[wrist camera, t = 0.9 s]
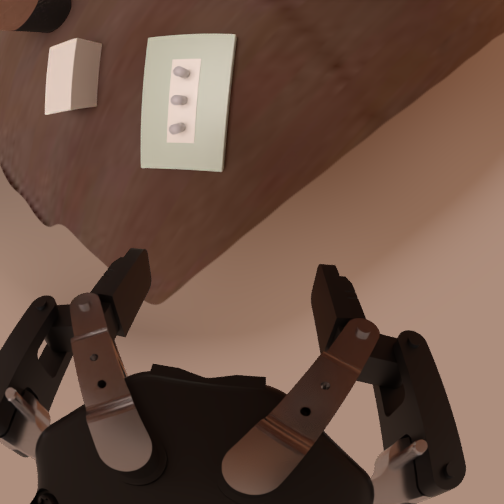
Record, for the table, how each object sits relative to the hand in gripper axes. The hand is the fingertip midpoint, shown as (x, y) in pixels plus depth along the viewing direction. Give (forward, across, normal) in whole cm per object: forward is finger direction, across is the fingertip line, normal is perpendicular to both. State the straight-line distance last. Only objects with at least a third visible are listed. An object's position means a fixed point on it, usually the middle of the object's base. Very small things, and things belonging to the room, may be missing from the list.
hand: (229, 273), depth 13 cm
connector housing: (+25, +25, -13) cm, 38 cm away
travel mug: (+26, +34, -28) cm, 51 cm away
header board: (+25, +9, -8) cm, 28 cm away
